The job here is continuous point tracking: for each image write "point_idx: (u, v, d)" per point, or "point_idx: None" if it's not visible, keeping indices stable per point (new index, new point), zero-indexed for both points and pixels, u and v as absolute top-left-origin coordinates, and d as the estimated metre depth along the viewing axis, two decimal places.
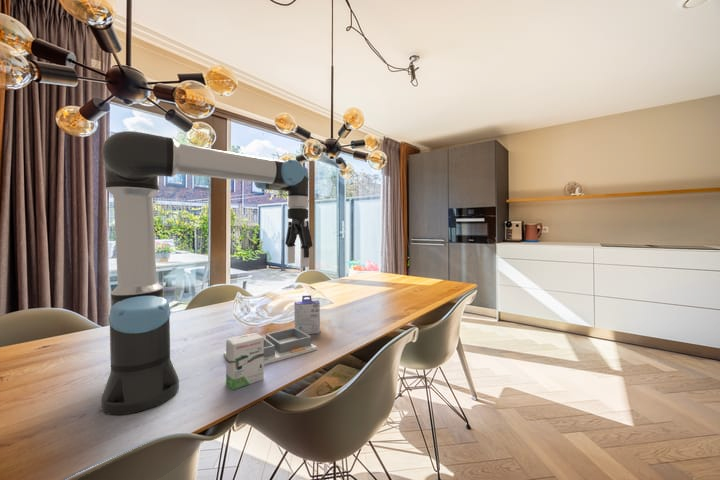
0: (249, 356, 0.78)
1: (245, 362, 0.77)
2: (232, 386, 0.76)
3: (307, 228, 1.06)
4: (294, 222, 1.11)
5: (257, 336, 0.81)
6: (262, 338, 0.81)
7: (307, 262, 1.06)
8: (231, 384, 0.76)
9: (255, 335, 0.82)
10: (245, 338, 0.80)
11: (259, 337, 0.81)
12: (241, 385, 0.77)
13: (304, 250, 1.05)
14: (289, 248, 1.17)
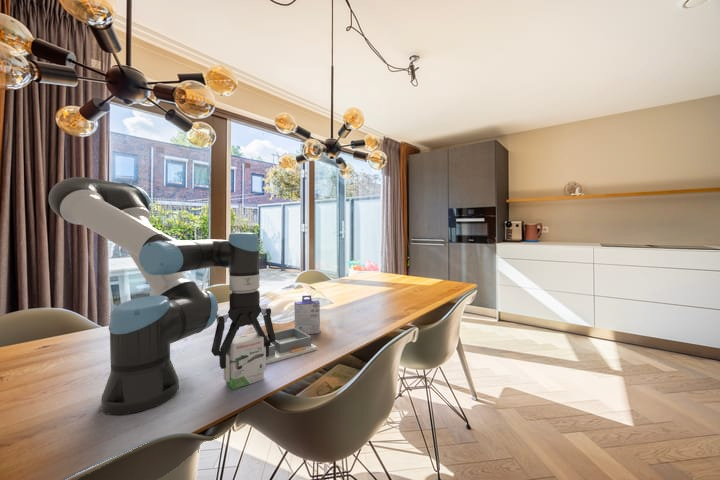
0: (249, 356, 0.78)
1: (245, 362, 0.77)
2: (232, 386, 0.76)
3: (218, 327, 0.75)
4: None
5: (257, 336, 0.81)
6: (262, 338, 0.81)
7: (225, 375, 0.76)
8: (231, 384, 0.76)
9: (255, 335, 0.82)
10: (245, 338, 0.80)
11: (259, 337, 0.81)
12: (241, 385, 0.77)
13: None
14: None
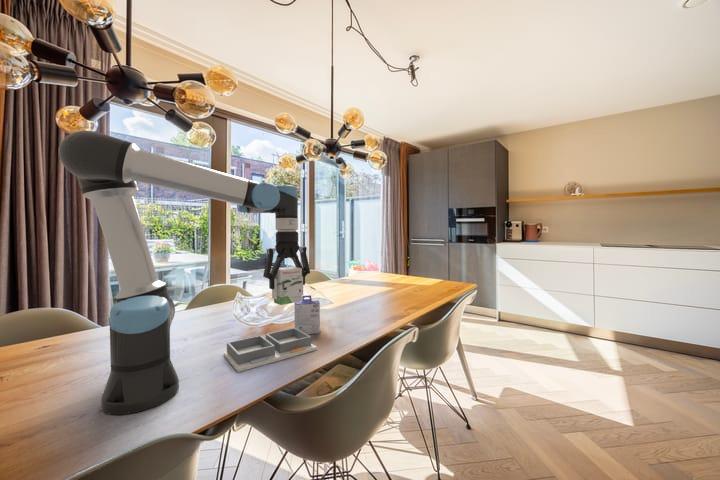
0: (291, 281, 1.01)
1: (288, 285, 1.00)
2: (280, 302, 0.98)
3: (268, 257, 0.98)
4: None
5: (297, 268, 1.03)
6: (301, 269, 1.03)
7: (274, 294, 0.99)
8: (279, 301, 0.98)
9: (295, 267, 1.04)
10: (288, 268, 1.02)
11: (298, 268, 1.03)
12: (286, 302, 0.99)
13: None
14: None
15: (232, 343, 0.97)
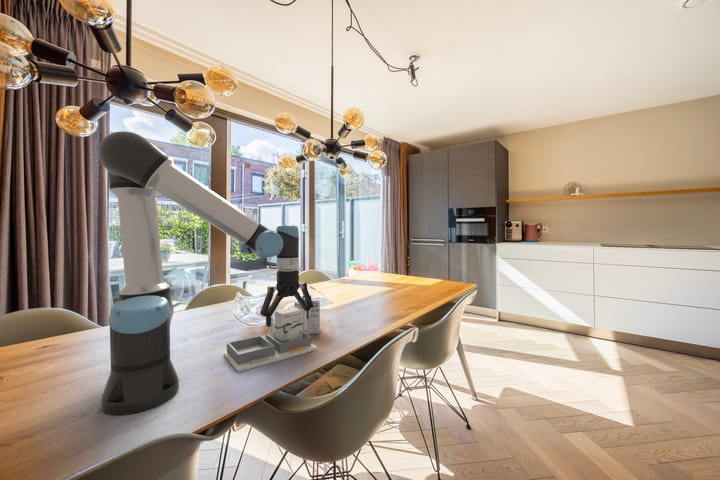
0: (292, 324, 1.02)
1: (289, 328, 1.01)
2: None
3: (268, 295, 0.98)
4: None
5: (297, 309, 1.05)
6: (301, 311, 1.05)
7: (270, 331, 0.99)
8: None
9: (295, 309, 1.06)
10: (289, 310, 1.04)
11: (299, 310, 1.05)
12: None
13: None
14: None
15: (232, 343, 0.97)
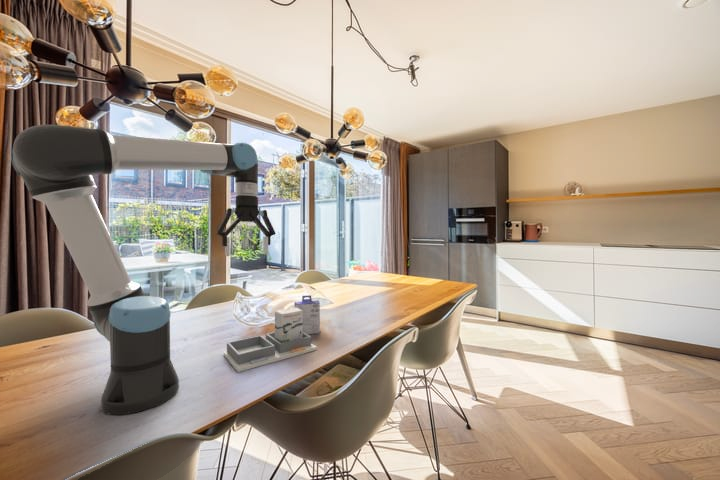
0: (292, 324, 1.02)
1: (289, 328, 1.01)
2: None
3: (226, 216, 1.02)
4: None
5: (298, 310, 1.05)
6: (301, 311, 1.05)
7: (226, 251, 1.02)
8: None
9: (296, 309, 1.06)
10: (289, 310, 1.03)
11: (299, 310, 1.05)
12: None
13: None
14: (263, 238, 1.12)
15: (232, 343, 0.97)
